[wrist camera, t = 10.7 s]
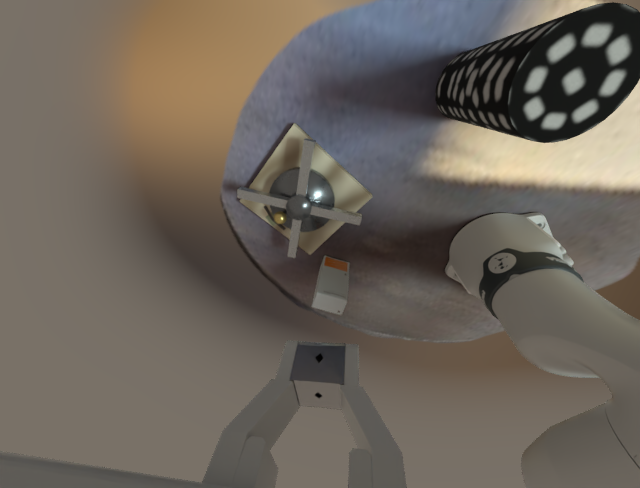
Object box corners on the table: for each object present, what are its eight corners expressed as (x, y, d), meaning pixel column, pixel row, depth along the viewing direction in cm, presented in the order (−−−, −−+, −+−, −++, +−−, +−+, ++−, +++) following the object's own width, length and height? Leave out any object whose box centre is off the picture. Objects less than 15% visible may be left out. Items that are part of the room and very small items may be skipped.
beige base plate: (372, 194, 44) (372, 197, 43) (310, 252, 53) (309, 255, 52) (295, 123, 40) (293, 124, 38) (241, 198, 48) (238, 201, 47)
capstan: (313, 131, 38) (309, 135, 35) (364, 213, 45) (365, 224, 41) (241, 185, 45) (231, 193, 41) (294, 250, 51) (290, 262, 48)
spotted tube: (510, 88, 34) (663, 85, 17) (452, 132, 37) (532, 164, 21) (483, 32, 31) (633, -38, 14) (424, 85, 35) (488, 78, 18)
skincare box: (350, 261, 53) (349, 301, 43) (344, 275, 55) (341, 316, 45) (323, 253, 53) (316, 292, 43) (318, 268, 55) (310, 307, 45)
